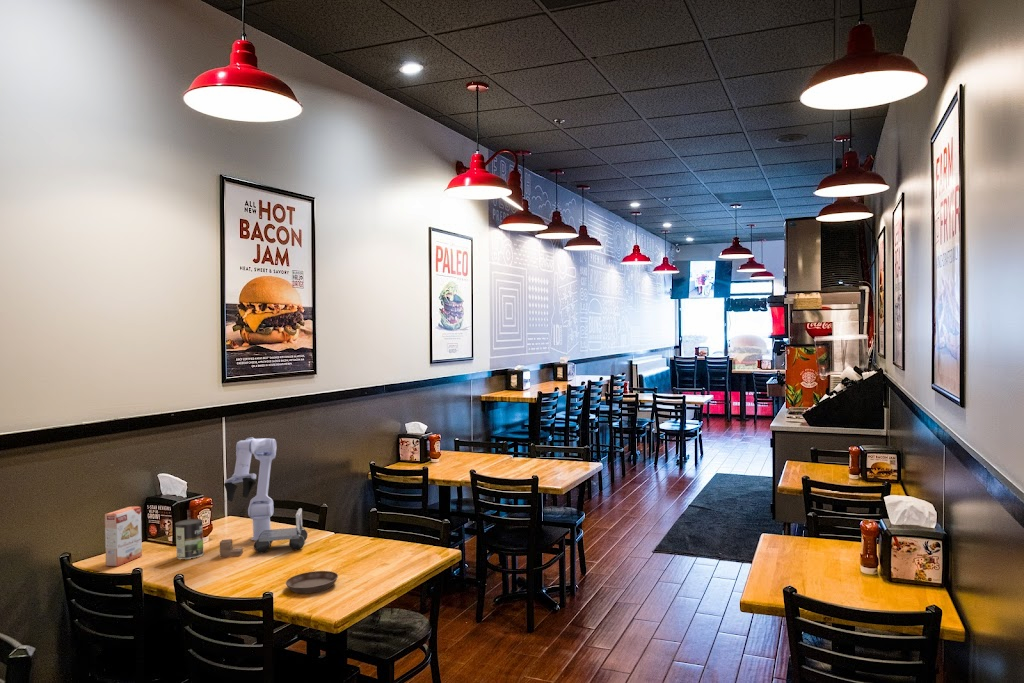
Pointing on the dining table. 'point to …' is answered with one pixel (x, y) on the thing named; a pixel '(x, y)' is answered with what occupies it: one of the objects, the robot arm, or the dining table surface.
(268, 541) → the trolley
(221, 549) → the brown l-shaped block
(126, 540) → the cracker box
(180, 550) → the coffee can
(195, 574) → the dining table surface
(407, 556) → the dining table surface
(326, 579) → the plant saucer
